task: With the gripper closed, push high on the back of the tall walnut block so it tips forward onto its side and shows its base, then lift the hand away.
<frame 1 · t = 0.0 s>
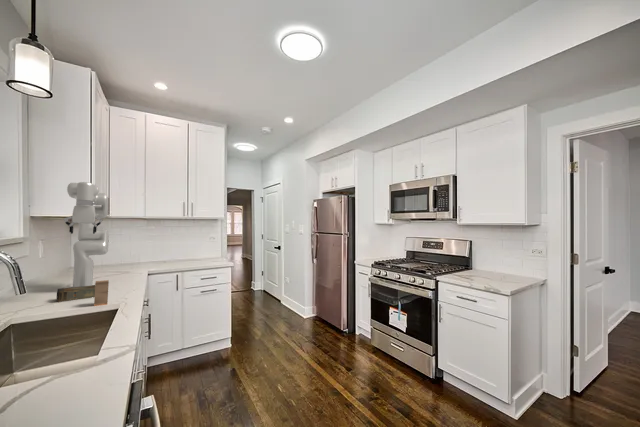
hand: (83, 233, 160), 37 cm above the countertop, tool pointing down, fingers open, 9 cm apart
beverage carton: (79, 298, 160), on the countertop
walnut block: (100, 304, 148), on the countertop
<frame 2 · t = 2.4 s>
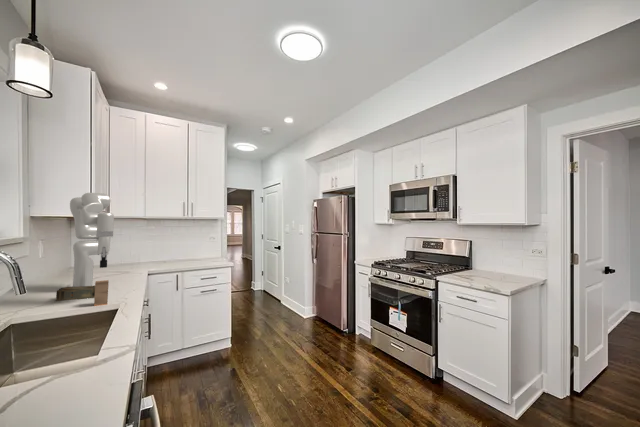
hand: (103, 267, 157), 18 cm above the countertop, tool pointing down, fingers closed
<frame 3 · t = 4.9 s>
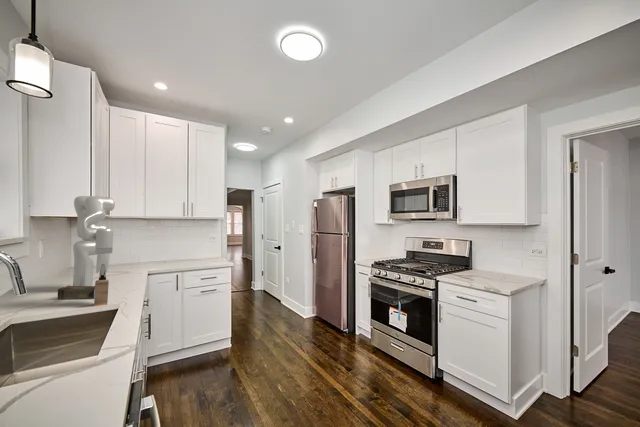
hand: (102, 284, 152), 9 cm above the countertop, tool pointing down, fingers closed
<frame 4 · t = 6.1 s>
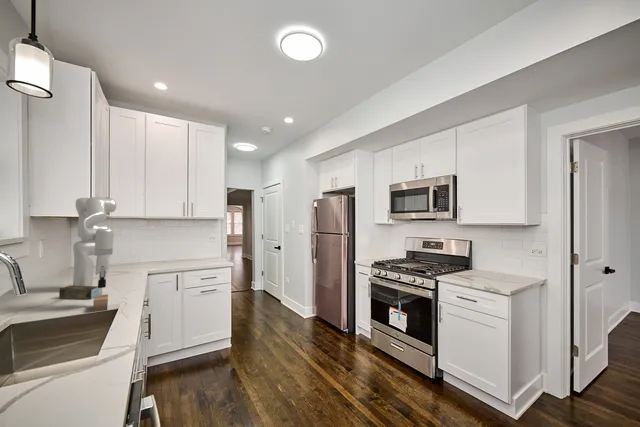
hand: (101, 287, 147), 9 cm above the countertop, tool pointing down, fingers closed
walnut block: (101, 300, 146), point 3 cm above the countertop, tilted 90°
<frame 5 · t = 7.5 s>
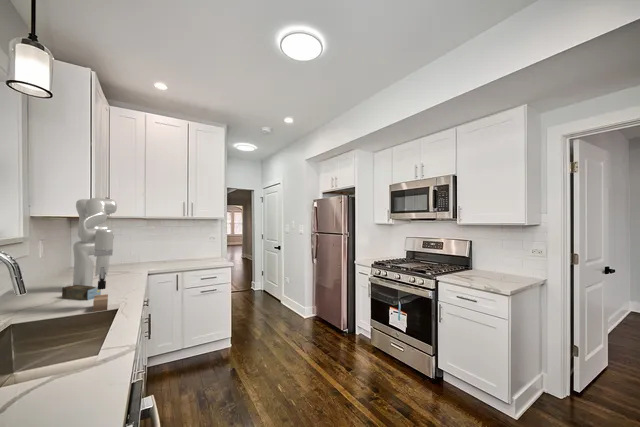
hand: (101, 288, 144), 9 cm above the countertop, tool pointing down, fingers closed
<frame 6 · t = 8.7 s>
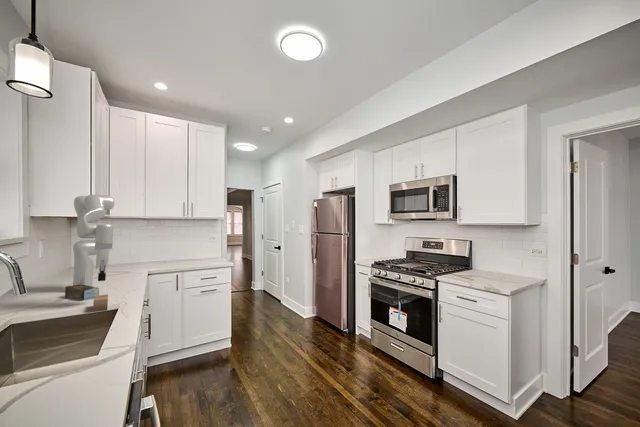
hand: (101, 280, 151), 12 cm above the countertop, tool pointing down, fingers closed
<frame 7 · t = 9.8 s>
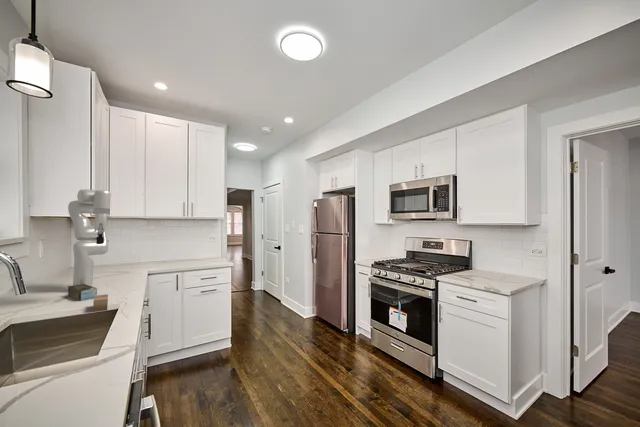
hand: (99, 243, 160), 31 cm above the countertop, tool pointing down, fingers closed
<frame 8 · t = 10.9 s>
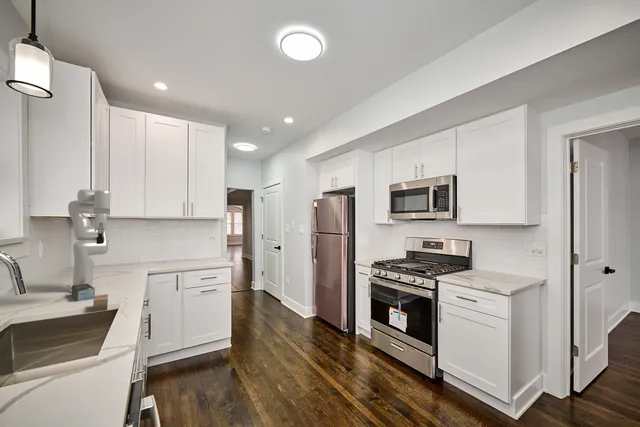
hand: (99, 243, 160), 31 cm above the countertop, tool pointing down, fingers closed
at the end: walnut block tilted 90°; walnut block inside the target area (2.7 cm from its centre), point 2.7 cm above the countertop; the gripper is holding nothing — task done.
